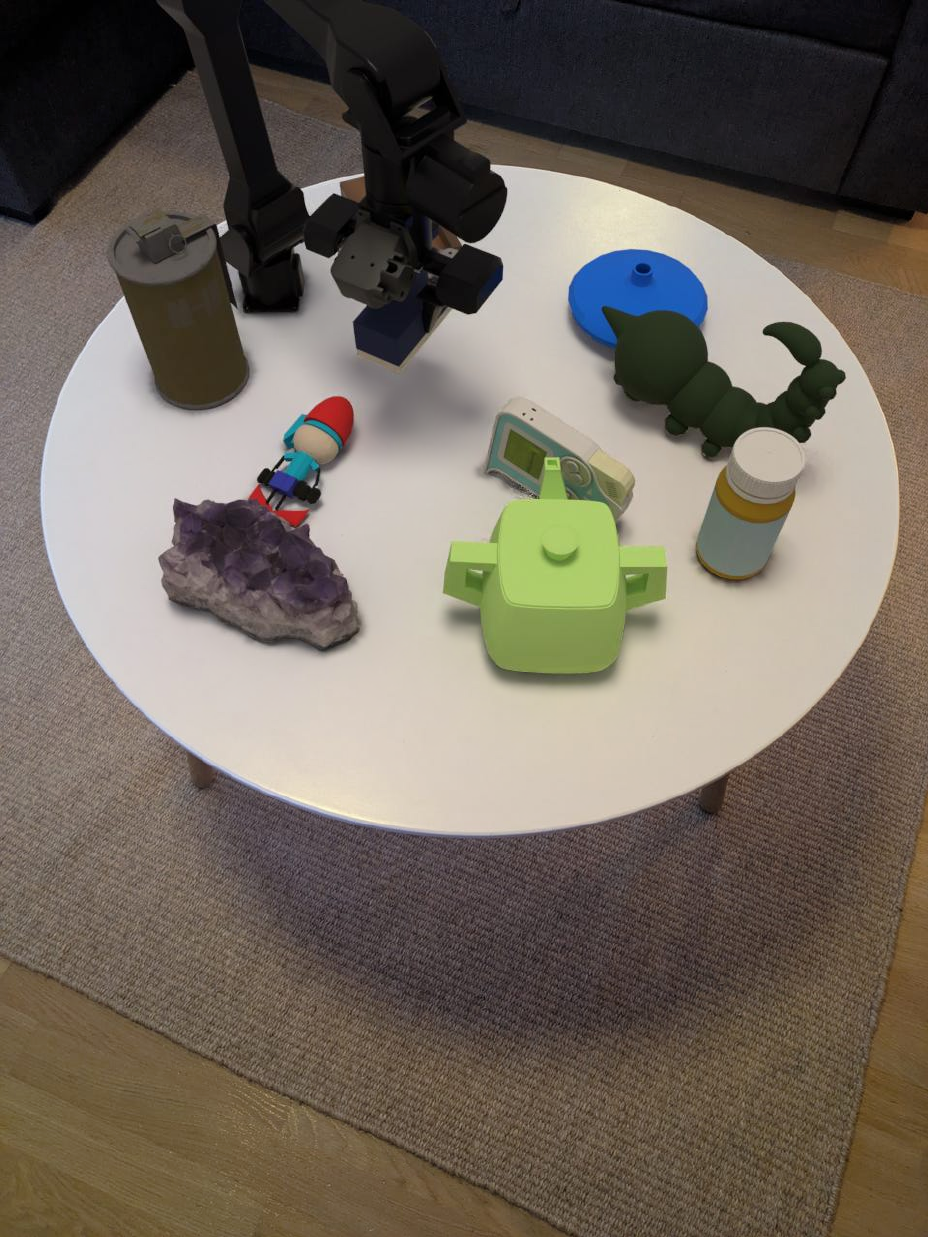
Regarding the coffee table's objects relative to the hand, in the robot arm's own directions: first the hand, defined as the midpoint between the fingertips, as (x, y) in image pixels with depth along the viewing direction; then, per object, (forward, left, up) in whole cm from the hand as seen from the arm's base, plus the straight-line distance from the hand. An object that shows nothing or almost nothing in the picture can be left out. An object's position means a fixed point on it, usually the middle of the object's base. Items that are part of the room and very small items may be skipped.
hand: (406, 320), depth 100 cm
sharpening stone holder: (-1, +23, -11) cm, 26 cm away
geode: (-14, -25, -11) cm, 30 cm away
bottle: (+32, -22, -11) cm, 40 cm away
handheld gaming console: (+15, -15, -11) cm, 23 cm away
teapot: (+13, -26, -11) cm, 32 cm away
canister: (-23, +4, -11) cm, 26 cm away
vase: (+26, +11, -11) cm, 30 cm away
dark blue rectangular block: (0, 0, -1) cm, 1 cm away
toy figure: (-10, -10, -11) cm, 18 cm away
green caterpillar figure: (+30, -5, -11) cm, 32 cm away
